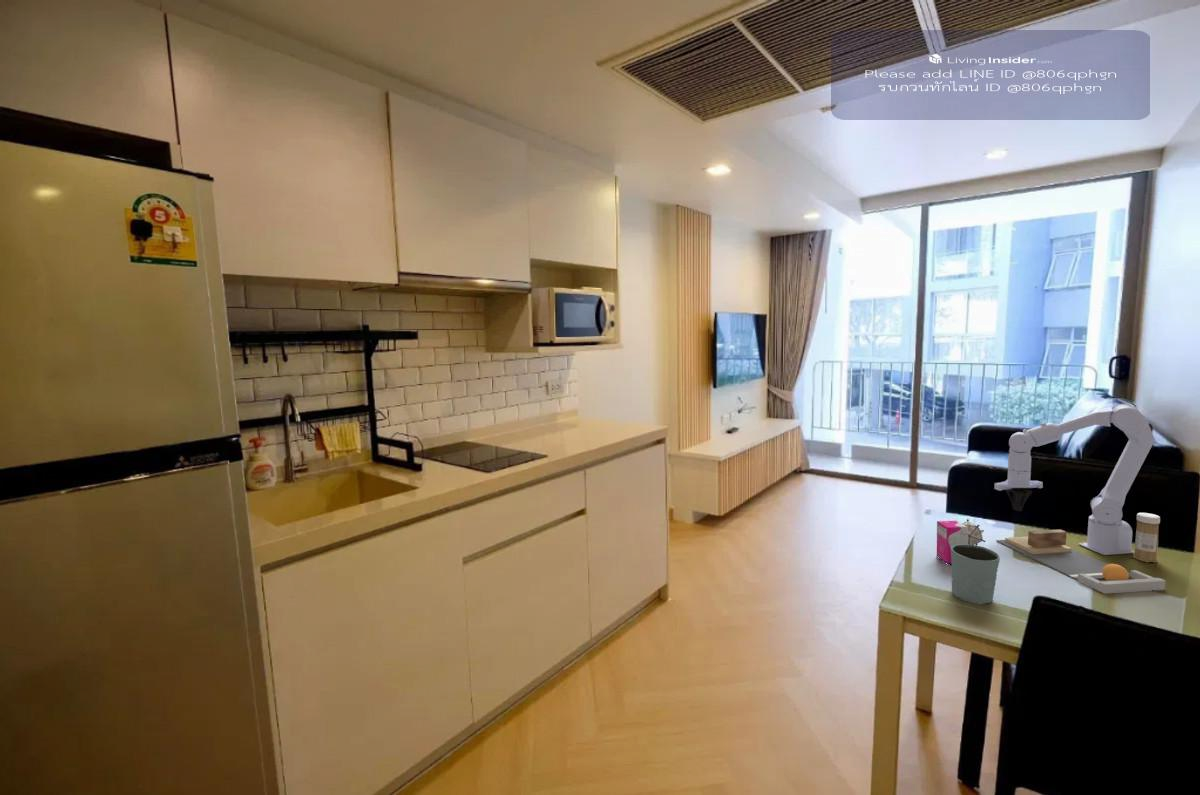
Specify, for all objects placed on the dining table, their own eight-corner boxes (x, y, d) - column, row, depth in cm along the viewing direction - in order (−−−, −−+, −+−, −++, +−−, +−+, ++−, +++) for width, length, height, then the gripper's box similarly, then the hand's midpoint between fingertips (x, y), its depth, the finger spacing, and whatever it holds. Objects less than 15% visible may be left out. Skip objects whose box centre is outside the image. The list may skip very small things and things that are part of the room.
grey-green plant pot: (951, 583, 139) (953, 540, 138) (998, 593, 133) (1000, 549, 131) (947, 598, 132) (948, 554, 130) (997, 610, 125) (999, 563, 124)
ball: (1134, 567, 133) (1134, 586, 133) (1114, 560, 138) (1114, 578, 138) (1115, 568, 132) (1116, 587, 133) (1096, 561, 137) (1096, 579, 138)
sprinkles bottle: (1158, 560, 146) (1162, 515, 145) (1154, 564, 144) (1158, 518, 142) (1135, 555, 150) (1139, 510, 149) (1131, 559, 148) (1134, 514, 146)
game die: (975, 558, 161) (998, 540, 155) (949, 550, 161) (972, 532, 155) (964, 535, 168) (986, 517, 162) (940, 527, 168) (961, 509, 162)
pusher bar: (1059, 542, 156) (1060, 529, 156) (1065, 545, 154) (1066, 531, 154) (1027, 544, 156) (1028, 531, 155) (1033, 547, 154) (1034, 533, 153)
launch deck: (1044, 538, 165) (1045, 530, 164) (1164, 589, 131) (1165, 580, 131) (996, 541, 164) (996, 533, 164) (1104, 593, 130) (1105, 584, 130)
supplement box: (955, 556, 155) (957, 520, 154) (967, 565, 149) (969, 527, 148) (935, 556, 156) (936, 520, 154) (946, 565, 150) (947, 527, 148)
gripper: (1030, 465, 170) (1028, 504, 172) (987, 467, 170) (986, 507, 171) (1049, 470, 163) (1047, 511, 165) (1005, 473, 163) (1003, 514, 164)
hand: (1017, 510), depth 167 cm, fingers closed
